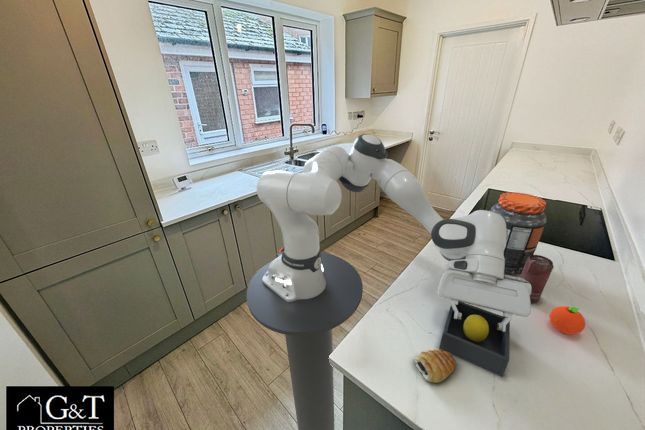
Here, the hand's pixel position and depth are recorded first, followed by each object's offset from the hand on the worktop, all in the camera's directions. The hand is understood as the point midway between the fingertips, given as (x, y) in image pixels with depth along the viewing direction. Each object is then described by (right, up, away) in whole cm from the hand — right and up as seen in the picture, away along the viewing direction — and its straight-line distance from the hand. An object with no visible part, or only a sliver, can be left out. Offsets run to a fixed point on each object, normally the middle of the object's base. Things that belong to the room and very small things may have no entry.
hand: (478, 325), depth 65 cm
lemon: (0, -5, +3) cm, 6 cm away
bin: (+1, -6, +4) cm, 7 cm away
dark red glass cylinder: (+25, +2, +17) cm, 30 cm away
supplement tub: (+28, +9, +32) cm, 44 cm away
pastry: (-12, -9, -2) cm, 16 cm away
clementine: (+27, -4, +6) cm, 27 cm away
